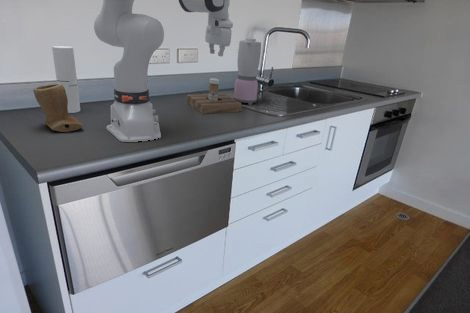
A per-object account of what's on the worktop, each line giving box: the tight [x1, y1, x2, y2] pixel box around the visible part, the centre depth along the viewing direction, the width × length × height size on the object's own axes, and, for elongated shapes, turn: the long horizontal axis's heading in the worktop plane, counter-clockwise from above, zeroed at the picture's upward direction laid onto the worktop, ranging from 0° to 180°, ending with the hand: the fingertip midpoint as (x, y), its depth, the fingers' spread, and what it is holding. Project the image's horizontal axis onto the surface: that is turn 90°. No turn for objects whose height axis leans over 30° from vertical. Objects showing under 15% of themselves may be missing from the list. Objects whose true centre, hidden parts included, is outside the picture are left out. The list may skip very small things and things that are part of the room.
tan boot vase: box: [33, 83, 84, 133], centre depth 109 cm, size 15×12×15 cm
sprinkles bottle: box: [208, 78, 220, 101], centre depth 152 cm, size 5×5×14 cm
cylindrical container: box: [51, 45, 81, 114], centre depth 126 cm, size 7×7×25 cm
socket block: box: [186, 93, 243, 115], centre depth 153 cm, size 20×20×4 cm
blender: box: [233, 37, 262, 106], centre depth 164 cm, size 16×12×32 cm
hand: (216, 54), depth 144 cm, fingers open, 8 cm apart
